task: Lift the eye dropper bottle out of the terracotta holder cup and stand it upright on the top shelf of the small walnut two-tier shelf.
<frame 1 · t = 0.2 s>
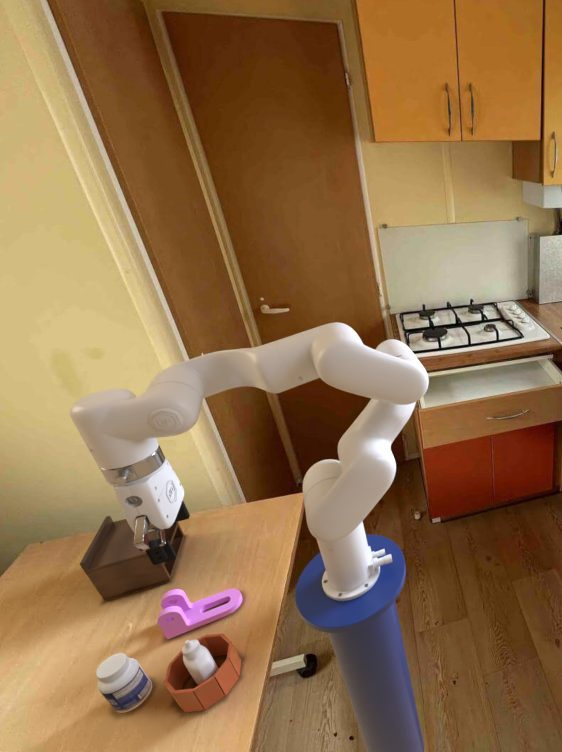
hand: (173, 539, 75), 26 cm above the table, tool pointing down, fingers open, 9 cm apart
shelf: (148, 566, 99), on the table
eye dropper bottle: (210, 681, 78), resting in holder cup
holder cup: (210, 680, 78), on the table
bracket: (207, 613, 89), on the table
pill bottle: (134, 697, 75), on the table
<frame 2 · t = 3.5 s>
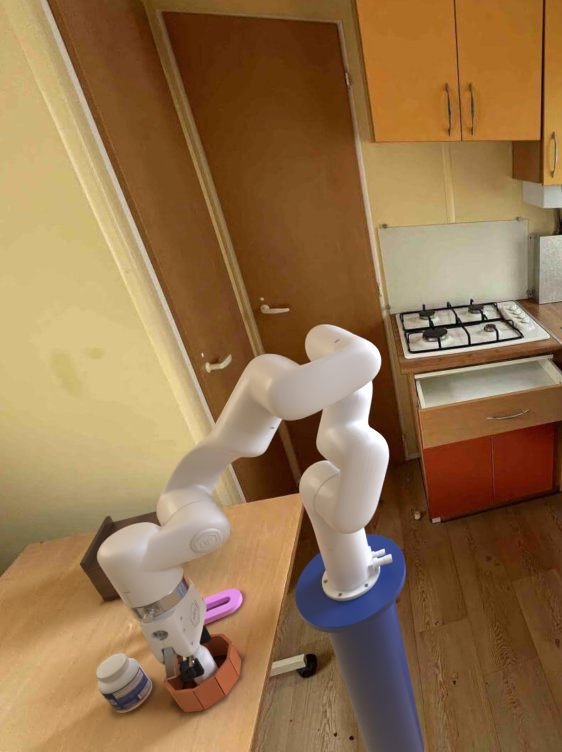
hand: (197, 658, 75), 7 cm above the table, tool pointing down, fingers closed on eye dropper bottle, 5 cm apart
eye dropper bottle: (210, 681, 78), resting in holder cup, touching gripper
everything else where it was.
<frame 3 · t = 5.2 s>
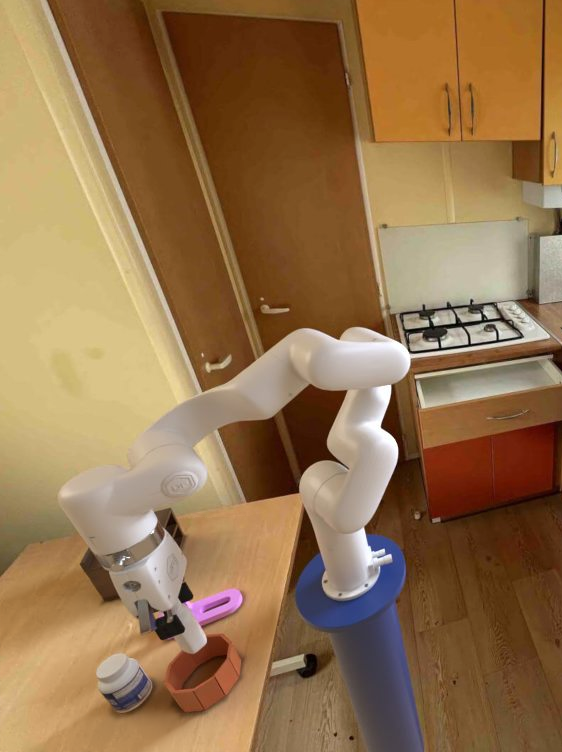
hand: (178, 616, 70), 18 cm above the table, tool pointing down, fingers closed on eye dropper bottle, 5 cm apart
eye dropper bottle: (193, 641, 73), point 11 cm above the table, touching gripper
everything else where it was.
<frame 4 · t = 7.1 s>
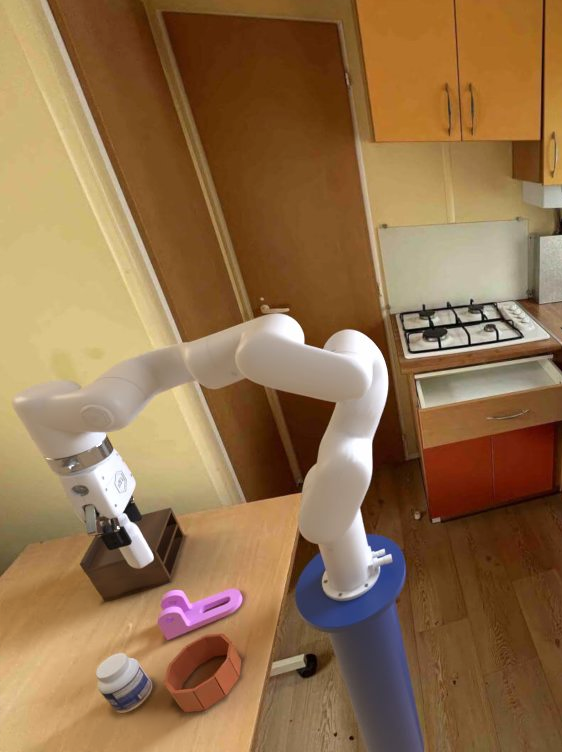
hand: (126, 532, 76), 26 cm above the table, tool pointing down, fingers closed on eye dropper bottle, 5 cm apart
eye dropper bottle: (141, 560, 79), point 18 cm above the table, touching gripper
everything else where it was.
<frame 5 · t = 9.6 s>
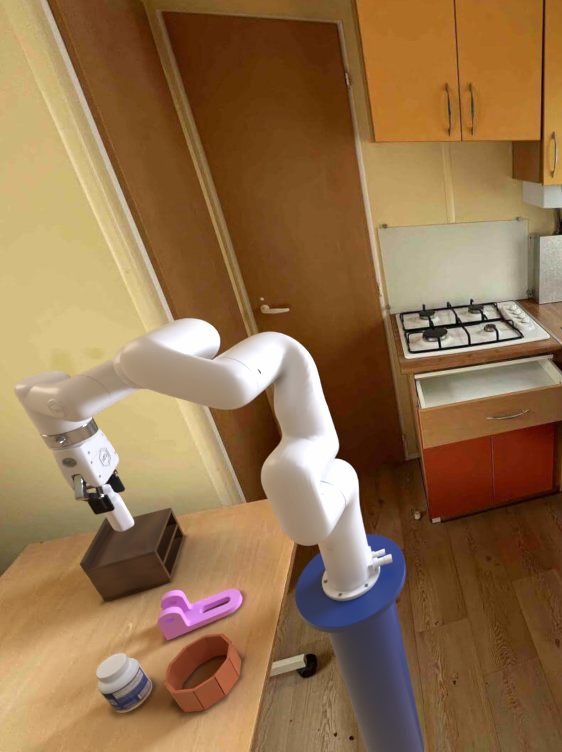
hand: (110, 501, 90), 21 cm above the table, tool pointing down, fingers closed on eye dropper bottle, 5 cm apart
eye dropper bottle: (124, 525, 93), point 14 cm above the table, touching gripper
everything else where it was.
when the fingers open (17 cm above the table, at t = 11.1 s): eye dropper bottle stays where it is, resting on shelf.
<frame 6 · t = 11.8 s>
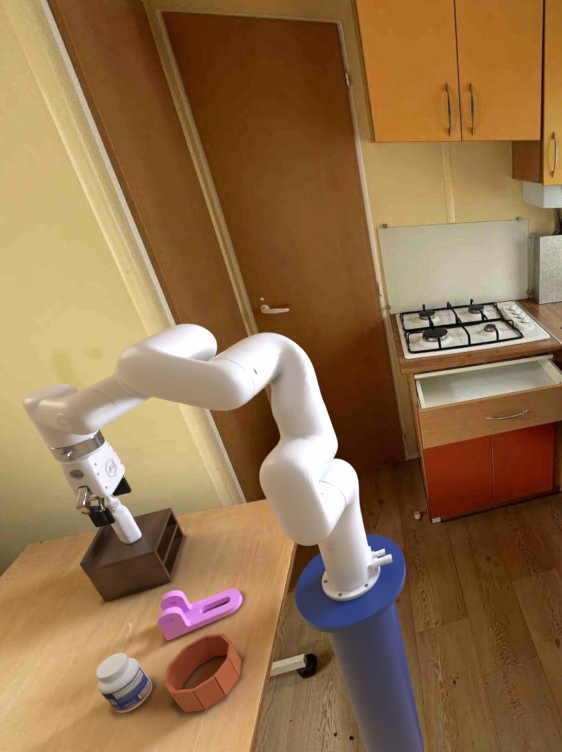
hand: (115, 508, 91), 19 cm above the table, tool pointing down, fingers open, 9 cm apart
eye dropper bottle: (131, 537, 95), point 10 cm above the table, touching shelf
everything else where it was.
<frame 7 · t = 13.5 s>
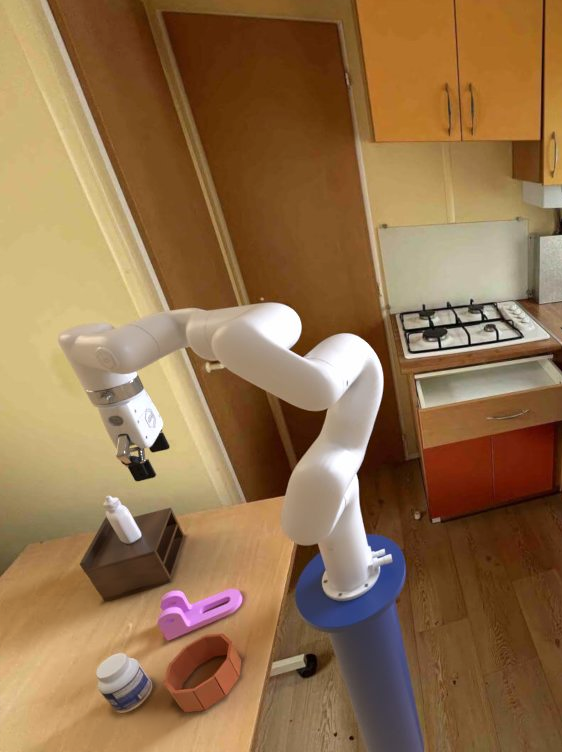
hand: (154, 463, 85), 31 cm above the table, tool pointing down, fingers open, 9 cm apart
nothing on the table moved.
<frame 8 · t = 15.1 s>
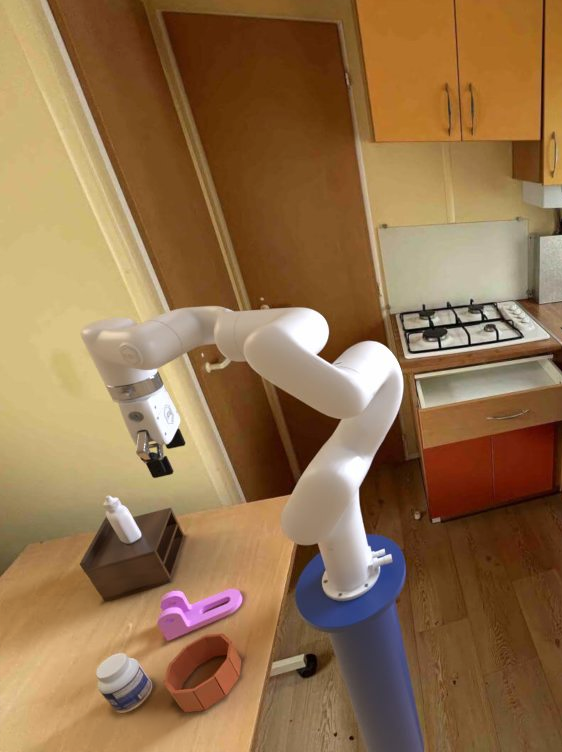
hand: (170, 460, 84), 32 cm above the table, tool pointing down, fingers open, 9 cm apart
nothing on the table moved.
at the end: eye dropper bottle inside the target area on the shelf (0.0 cm from its centre), point 9.8 cm above the shelf's base; eye dropper bottle tilted 0°; the gripper is holding nothing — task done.
